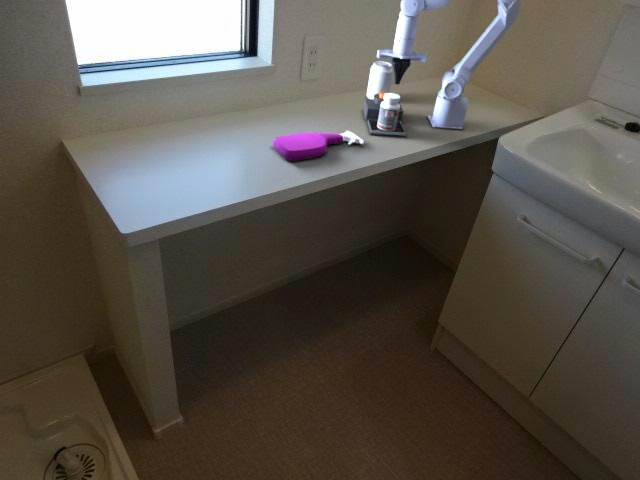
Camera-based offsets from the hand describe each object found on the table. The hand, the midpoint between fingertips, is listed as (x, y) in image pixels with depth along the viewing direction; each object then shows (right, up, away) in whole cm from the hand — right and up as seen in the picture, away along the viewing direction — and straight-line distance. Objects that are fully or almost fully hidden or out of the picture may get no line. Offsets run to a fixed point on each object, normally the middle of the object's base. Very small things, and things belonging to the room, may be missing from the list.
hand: (396, 83), depth 149 cm
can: (-4, 0, +17) cm, 17 cm away
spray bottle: (-24, -23, -17) cm, 37 cm away
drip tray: (-4, -15, -4) cm, 16 cm away
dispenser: (-4, -10, +4) cm, 11 cm away
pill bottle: (-4, -15, -4) cm, 16 cm away
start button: (-4, -4, +2) cm, 6 cm away
